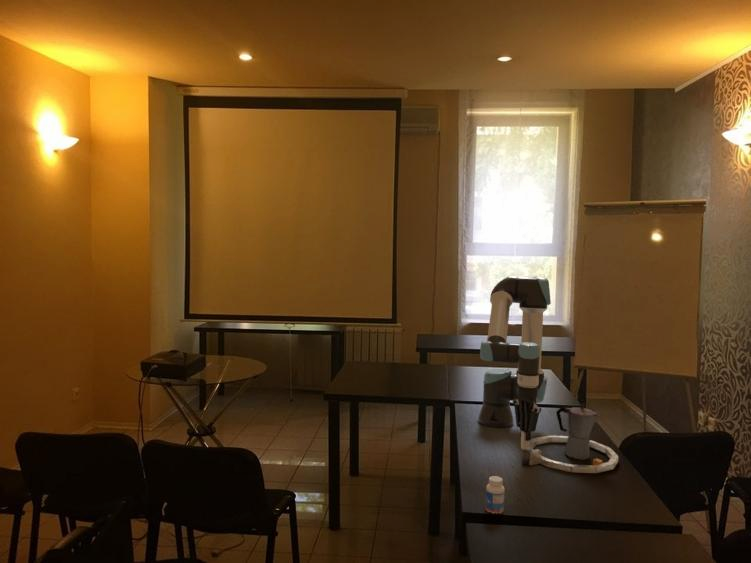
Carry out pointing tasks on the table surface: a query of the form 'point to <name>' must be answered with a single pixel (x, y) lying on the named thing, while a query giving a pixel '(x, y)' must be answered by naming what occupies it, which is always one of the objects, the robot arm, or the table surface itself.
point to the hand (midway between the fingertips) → (524, 448)
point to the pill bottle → (495, 495)
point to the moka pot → (578, 430)
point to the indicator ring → (535, 457)
